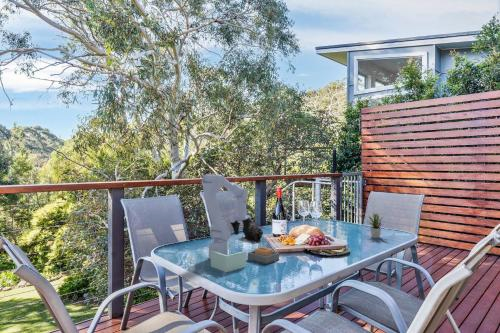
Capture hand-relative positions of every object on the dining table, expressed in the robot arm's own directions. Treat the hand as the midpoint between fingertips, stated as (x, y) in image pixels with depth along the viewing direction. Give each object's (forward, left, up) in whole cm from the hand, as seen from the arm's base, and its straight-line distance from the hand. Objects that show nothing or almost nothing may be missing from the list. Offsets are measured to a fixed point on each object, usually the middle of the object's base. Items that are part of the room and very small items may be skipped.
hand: (241, 233), depth 198 cm
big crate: (-6, -21, -9) cm, 24 cm away
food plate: (+30, -37, -10) cm, 49 cm away
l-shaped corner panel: (-26, -15, -10) cm, 31 cm away
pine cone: (+25, +12, -10) cm, 30 cm away
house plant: (+82, -43, -10) cm, 93 cm away
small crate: (-6, -21, -9) cm, 24 cm away
